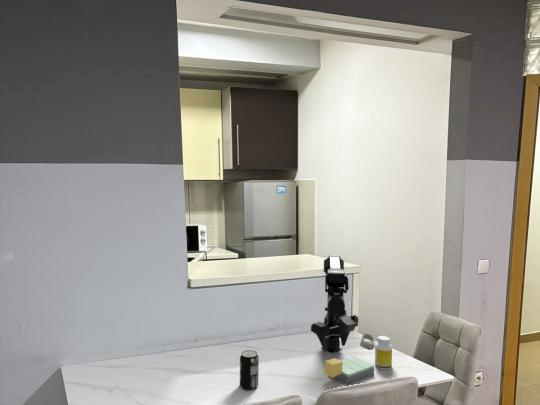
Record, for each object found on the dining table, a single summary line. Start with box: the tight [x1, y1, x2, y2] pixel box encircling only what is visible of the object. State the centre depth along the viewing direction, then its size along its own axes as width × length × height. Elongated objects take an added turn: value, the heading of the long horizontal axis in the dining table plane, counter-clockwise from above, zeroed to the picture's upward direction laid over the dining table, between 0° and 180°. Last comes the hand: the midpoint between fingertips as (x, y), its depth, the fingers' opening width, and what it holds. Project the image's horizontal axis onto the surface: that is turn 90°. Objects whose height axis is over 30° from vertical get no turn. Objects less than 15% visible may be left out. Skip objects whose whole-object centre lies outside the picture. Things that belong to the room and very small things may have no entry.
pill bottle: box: [374, 335, 393, 370], centre depth 164 cm, size 6×6×12 cm
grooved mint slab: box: [324, 356, 375, 378], centre depth 155 cm, size 10×19×4 cm, turn 126°
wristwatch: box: [359, 332, 376, 349], centre depth 187 cm, size 9×6×5 cm
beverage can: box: [239, 349, 260, 391], centre depth 146 cm, size 7×7×12 cm
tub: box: [334, 367, 375, 385], centre depth 157 cm, size 10×14×3 cm
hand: (334, 348), depth 151 cm, fingers open, 9 cm apart
